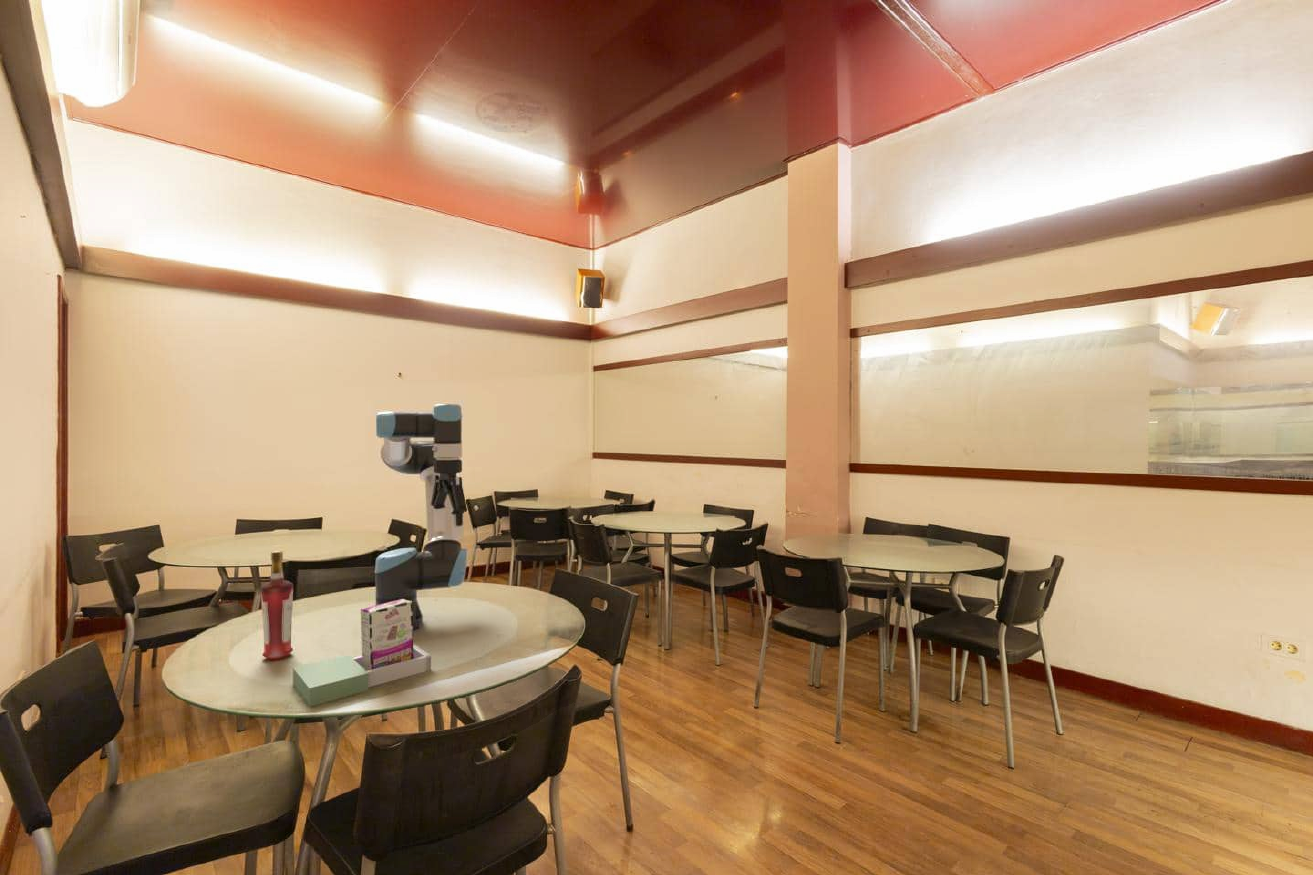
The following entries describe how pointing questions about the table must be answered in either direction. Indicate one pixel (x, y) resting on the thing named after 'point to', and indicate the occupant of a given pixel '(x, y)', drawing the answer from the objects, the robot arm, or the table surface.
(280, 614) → the liquor
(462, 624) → the table surface
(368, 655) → the candy bar box
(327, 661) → the sliding drawer box
